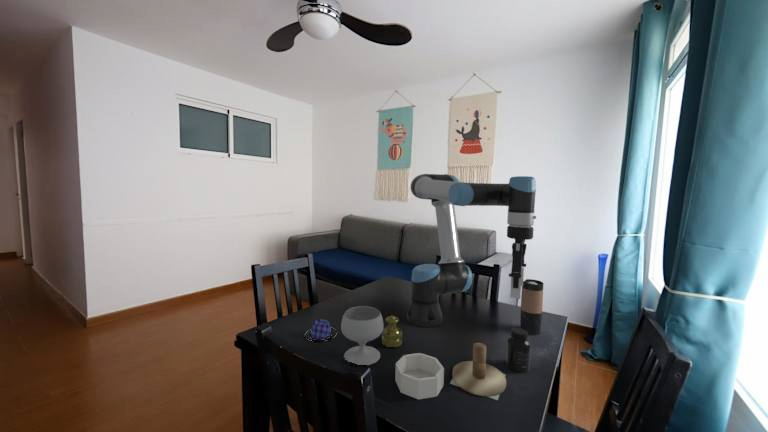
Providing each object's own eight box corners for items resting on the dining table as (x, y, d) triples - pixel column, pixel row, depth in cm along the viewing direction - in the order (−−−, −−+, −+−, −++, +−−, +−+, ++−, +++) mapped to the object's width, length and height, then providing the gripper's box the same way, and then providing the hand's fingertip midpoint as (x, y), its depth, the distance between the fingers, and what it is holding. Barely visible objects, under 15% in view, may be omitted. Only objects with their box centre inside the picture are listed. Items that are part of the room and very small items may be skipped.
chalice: (391, 360, 96) (392, 315, 95) (352, 374, 89) (353, 325, 87) (369, 341, 108) (370, 301, 107) (334, 352, 100) (334, 309, 99)
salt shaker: (404, 340, 110) (404, 313, 109) (398, 350, 103) (399, 322, 102) (385, 336, 112) (385, 311, 111) (378, 346, 105) (379, 319, 104)
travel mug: (543, 336, 114) (546, 285, 112) (522, 334, 115) (524, 284, 114) (537, 327, 121) (540, 279, 120) (517, 325, 123) (519, 278, 121)
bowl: (388, 388, 82) (389, 369, 82) (409, 366, 93) (409, 349, 93) (431, 406, 76) (432, 385, 75) (447, 379, 86) (448, 361, 86)
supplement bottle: (502, 361, 96) (503, 326, 95) (522, 361, 97) (523, 325, 96) (513, 374, 89) (514, 336, 88) (534, 373, 90) (536, 335, 89)
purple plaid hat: (343, 332, 116) (343, 319, 115) (324, 346, 105) (324, 332, 105) (318, 326, 121) (318, 313, 120) (298, 339, 110) (297, 325, 110)
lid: (445, 384, 84) (446, 350, 83) (460, 358, 97) (461, 329, 96) (501, 403, 76) (502, 366, 75) (510, 373, 89) (511, 341, 88)
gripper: (532, 230, 81) (528, 306, 82) (534, 223, 102) (531, 283, 104) (502, 229, 84) (499, 301, 86) (511, 221, 106) (508, 279, 108)
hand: (517, 291), depth 95 cm, fingers open, 13 cm apart
